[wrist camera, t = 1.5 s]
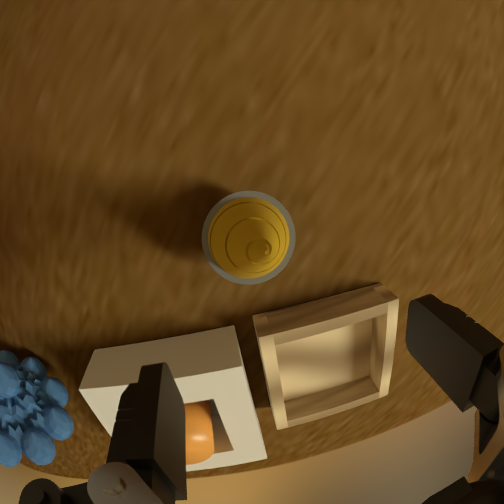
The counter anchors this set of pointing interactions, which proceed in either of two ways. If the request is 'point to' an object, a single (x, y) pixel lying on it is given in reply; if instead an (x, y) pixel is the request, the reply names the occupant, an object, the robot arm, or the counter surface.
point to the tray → (327, 353)
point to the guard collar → (186, 387)
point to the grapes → (30, 411)
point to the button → (198, 432)
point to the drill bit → (248, 237)
